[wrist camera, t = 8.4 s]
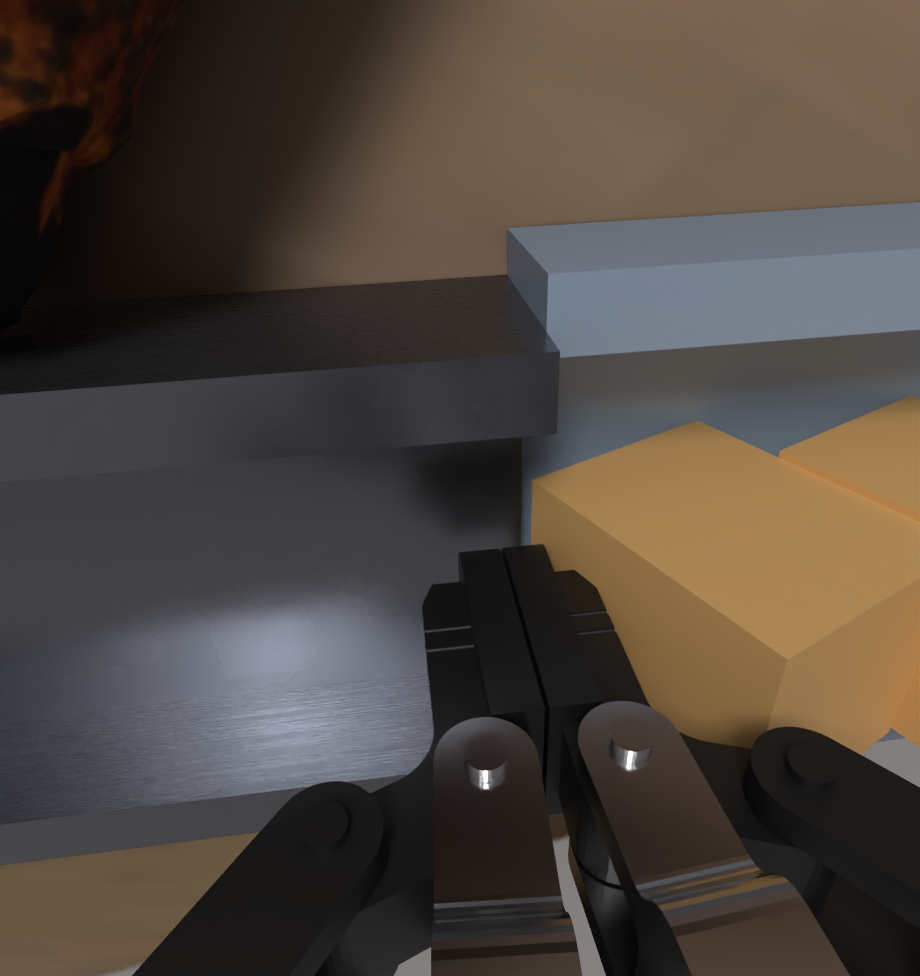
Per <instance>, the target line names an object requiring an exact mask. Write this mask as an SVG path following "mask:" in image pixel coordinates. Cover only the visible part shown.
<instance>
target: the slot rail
mask: <svg viewBox="0 0 920 976" xmlns="http://www.w3.org/2000/svg"><path fill="white" fill-rule="evenodd" d="M559 367H560V351H559V349H558V348H557V346H556V345H555V343H554V342H553V340H552V339H551V338H550V336H549V335H548V333H547V332H546V330H545V329H544V327H543V326H542V324H541V323H540V322H539V320H538V319H537V317H536V316H535V314H534V313H533V311H532V310H531V309H530V307H529V306H528V304H527V303H526V301H525V300H524V298H523V297H522V295H521V294H520V293H519V291H518V290H517V288H516V287H515V285H514V284H513V282H512V281H511V279H510V278H509V277H508V275H497V276H483V277H468V278H454V279H439V280H424V281H410V282H395V283H380V284H366V285H351V286H337V287H322V288H307V289H293V290H278V291H263V292H249V293H234V294H220V295H205V296H190V297H176V298H161V299H146V300H132V301H117V302H103V303H88V304H73V305H59V306H44V307H30V308H22V310H21V319H20V322H19V323H16V324H13V325H11V326H9V327H8V328H7V329H5V330H4V331H3V332H1V333H0V865H6V864H14V863H22V862H30V861H37V860H45V859H53V858H61V857H69V856H76V855H84V854H92V853H100V852H108V851H115V850H123V849H131V848H139V847H147V846H154V845H162V844H170V843H178V842H185V841H193V840H201V839H209V838H217V837H224V836H232V835H240V834H248V833H256V832H260V831H261V830H262V829H263V828H264V827H265V826H266V824H267V823H268V822H269V821H270V820H271V819H272V818H273V817H274V815H275V814H276V813H277V812H278V811H279V810H280V809H281V808H282V806H283V805H284V804H285V803H286V802H287V801H288V800H290V799H291V798H292V797H293V796H295V795H296V794H297V793H299V792H300V791H302V790H304V789H306V788H308V787H310V786H313V785H315V784H319V783H323V782H329V781H342V782H348V783H352V784H355V785H357V786H360V787H362V788H363V789H365V790H366V791H367V792H369V793H372V792H374V791H376V790H378V789H381V788H383V787H385V786H387V785H389V784H392V783H394V782H396V781H398V780H400V779H402V778H403V777H405V776H406V775H408V774H409V773H411V772H412V771H413V770H414V769H415V768H416V767H417V766H418V765H419V764H420V763H421V762H422V761H423V759H424V758H425V757H426V755H427V753H428V751H429V749H430V747H431V744H432V741H433V736H434V732H433V722H432V712H431V702H430V692H429V682H428V672H427V661H426V649H425V638H424V626H423V615H422V604H423V602H424V600H425V598H426V596H427V594H428V592H429V590H430V587H431V585H432V584H442V583H452V582H459V570H458V553H459V552H468V551H478V550H488V549H498V548H499V549H500V551H501V549H502V548H506V547H516V546H521V469H522V437H525V436H536V435H548V434H557V416H558V391H559Z"/></svg>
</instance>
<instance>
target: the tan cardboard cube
mask: <svg viewBox="0 0 920 976" xmlns="http://www.w3.org/2000/svg"><path fill="white" fill-rule="evenodd" d="M536 544H543V545H544V546H545V548H546V550H547V553H548V556H549V558H550V561H551V563H552V566H553V569H554V571H555V572H557V571H566V570H575V571H577V572H578V573H579V574H580V575H582V576H583V577H584V578H585V579H587V580H588V581H589V582H590V583H592V584H593V585H594V586H595V587H597V589H598V592H599V594H600V596H601V598H602V601H603V603H604V605H605V607H606V611H607V614H609V616H610V618H611V621H612V623H613V625H614V627H615V632H617V634H618V636H619V639H620V641H621V643H622V645H623V647H624V650H625V652H626V654H627V656H628V659H629V661H630V663H631V665H632V668H633V670H634V672H635V674H636V677H637V679H638V681H639V683H640V686H641V688H642V690H643V692H644V694H645V697H646V699H647V701H648V703H649V705H650V706H651V708H653V709H655V710H656V711H658V712H660V713H661V714H663V715H664V716H665V717H666V718H668V719H669V720H670V721H671V722H672V723H673V725H674V726H675V727H676V729H677V730H678V731H679V732H681V733H683V734H685V735H687V736H689V737H692V738H695V739H698V740H702V741H707V742H712V743H718V744H724V745H730V746H736V747H743V748H749V749H752V747H753V745H754V743H755V741H756V739H757V738H758V737H759V736H760V735H762V734H763V733H765V732H766V731H769V730H771V729H774V728H779V727H799V728H805V729H809V730H813V731H815V732H818V733H821V734H823V735H825V736H827V737H829V738H831V739H833V740H835V741H837V742H838V743H840V744H842V745H844V746H846V747H847V748H849V749H851V750H853V751H855V752H856V753H858V754H861V753H863V752H864V751H865V750H867V749H868V748H869V747H870V746H872V745H873V744H874V743H876V742H877V741H878V740H880V739H881V738H882V737H883V736H885V735H886V734H887V733H888V732H889V730H890V728H891V725H892V723H893V721H894V718H895V716H896V714H897V712H898V709H899V707H900V705H901V703H902V700H903V698H904V696H905V693H906V691H907V689H908V687H909V684H910V682H911V680H912V677H913V675H914V673H915V671H916V668H917V666H918V664H919V661H920V522H918V521H915V520H913V519H911V518H909V517H907V516H904V515H902V514H900V513H898V512H896V511H894V510H891V509H889V508H887V507H885V506H883V505H881V504H878V503H876V502H874V501H872V500H870V499H867V498H865V497H863V496H861V495H859V494H857V493H854V492H852V491H850V490H848V489H846V488H844V487H841V486H839V485H837V484H835V483H833V482H830V481H828V480H826V479H824V478H822V477H820V476H817V475H815V474H813V473H811V472H809V471H807V470H804V469H802V468H800V467H798V466H796V465H794V464H791V463H789V462H787V461H785V460H783V459H780V458H778V457H776V456H774V455H772V454H770V453H767V452H765V451H763V450H761V449H759V448H757V447H754V446H752V445H750V444H748V443H746V442H743V441H741V440H739V439H737V438H735V437H733V436H730V435H728V434H726V433H724V432H722V431H720V430H717V429H715V428H713V427H711V426H709V425H706V424H704V423H702V422H700V421H698V420H696V421H693V422H691V423H688V424H685V425H682V426H680V427H677V428H674V429H671V430H669V431H666V432H663V433H660V434H658V435H655V436H652V437H649V438H647V439H644V440H641V441H638V442H636V443H633V444H630V445H627V446H625V447H622V448H619V449H616V450H613V451H611V452H608V453H605V454H602V455H600V456H597V457H594V458H591V459H589V460H586V461H583V462H580V463H578V464H575V465H572V466H569V467H567V468H564V469H561V470H558V471H556V472H553V473H550V474H547V475H545V476H542V477H539V478H536V479H534V480H532V515H531V545H536Z"/></svg>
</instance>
